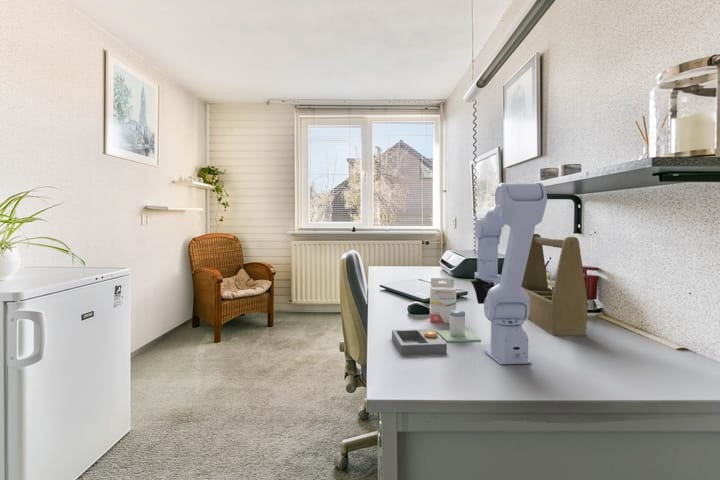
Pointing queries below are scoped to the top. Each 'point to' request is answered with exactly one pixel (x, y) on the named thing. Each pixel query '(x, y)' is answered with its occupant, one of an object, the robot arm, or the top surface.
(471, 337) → the mat
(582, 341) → the top surface
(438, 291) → the ink cartridge box
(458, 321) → the cylinder
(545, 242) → the caddy
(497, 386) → the top surface
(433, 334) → the plunger
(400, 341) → the dock
